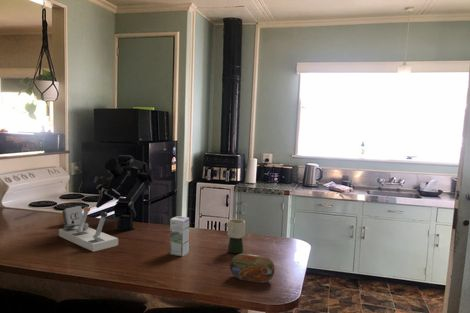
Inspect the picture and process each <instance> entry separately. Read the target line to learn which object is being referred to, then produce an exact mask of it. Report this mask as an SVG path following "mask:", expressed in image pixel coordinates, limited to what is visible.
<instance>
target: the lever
mask: <svg viewBox="0 0 470 313" xmlns="http://www.w3.org/2000/svg"><path fill="white" fill-rule="evenodd" d="M107 217H108V212H106V211H101V213H100V218H99V220H98V221H99V222H98V225H97V227H96V229H95V230H96V233H95V235H94V236H93V239H96V240H100V237H99V236H100V233H101V232H102V230H103V227H104V224H105V220H106V218H107Z"/></svg>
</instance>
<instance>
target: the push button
mask: <svg viewBox="0 0 470 313" xmlns="http://www.w3.org/2000/svg"><path fill="white" fill-rule="evenodd" d="M88 227H89V223H87V222H85V224H84V227H83V230H84V229H88Z"/></svg>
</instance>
